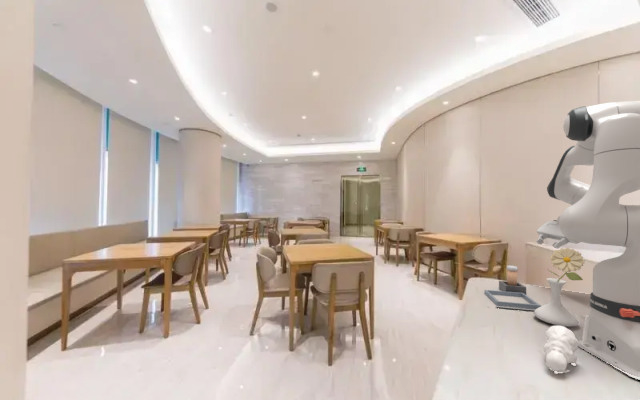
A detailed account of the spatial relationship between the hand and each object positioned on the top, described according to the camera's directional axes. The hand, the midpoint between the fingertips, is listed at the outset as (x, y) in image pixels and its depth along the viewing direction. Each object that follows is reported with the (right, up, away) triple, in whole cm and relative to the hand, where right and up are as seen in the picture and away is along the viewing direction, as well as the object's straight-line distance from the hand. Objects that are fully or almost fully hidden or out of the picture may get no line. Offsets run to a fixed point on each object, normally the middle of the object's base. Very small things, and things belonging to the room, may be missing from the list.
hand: (546, 245), depth 117 cm
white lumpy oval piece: (-38, -21, -50) cm, 66 cm away
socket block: (-14, -21, +1) cm, 25 cm away
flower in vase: (-17, -21, -26) cm, 38 cm away
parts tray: (-21, -21, -9) cm, 31 cm away
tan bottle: (-14, -20, +1) cm, 24 cm away
